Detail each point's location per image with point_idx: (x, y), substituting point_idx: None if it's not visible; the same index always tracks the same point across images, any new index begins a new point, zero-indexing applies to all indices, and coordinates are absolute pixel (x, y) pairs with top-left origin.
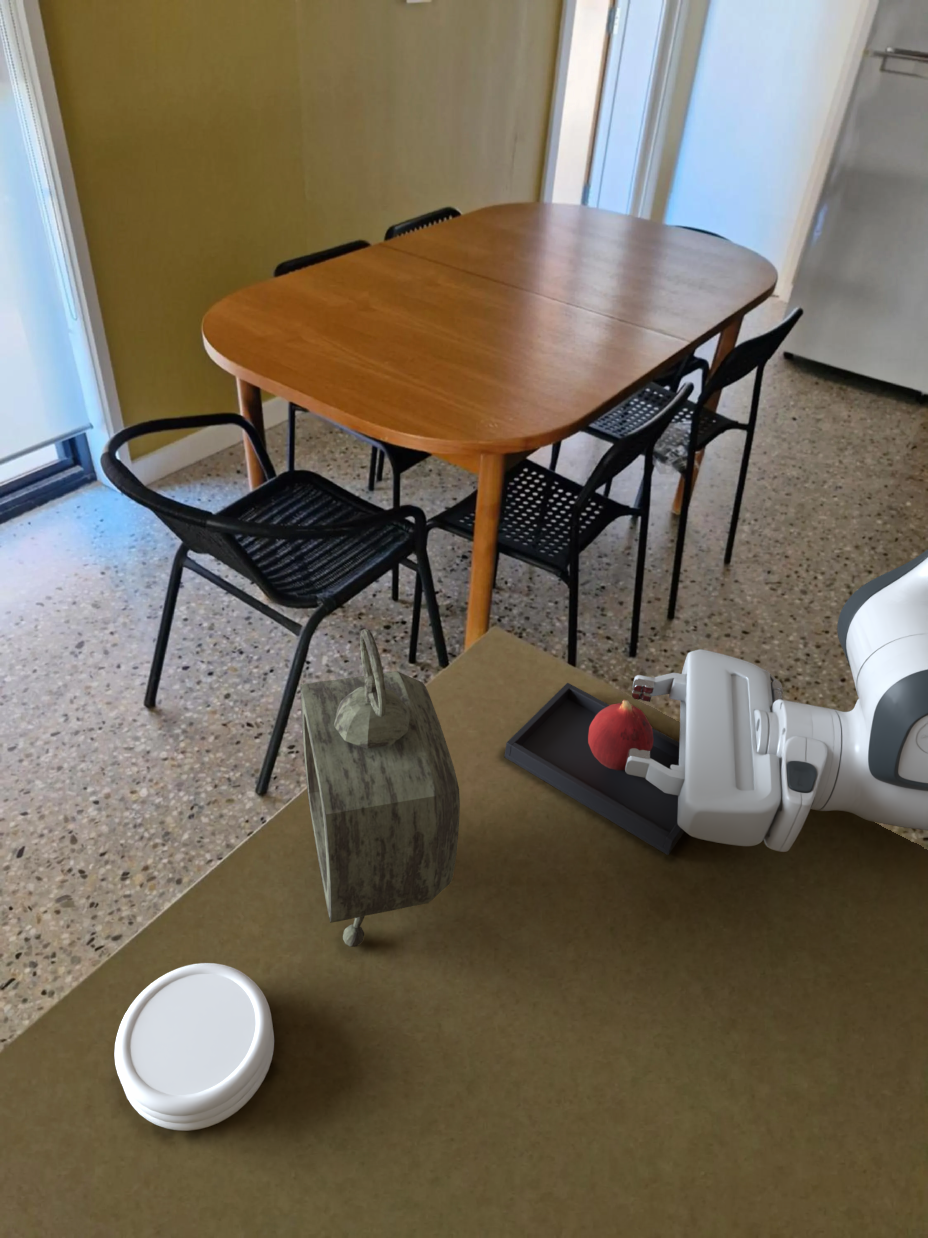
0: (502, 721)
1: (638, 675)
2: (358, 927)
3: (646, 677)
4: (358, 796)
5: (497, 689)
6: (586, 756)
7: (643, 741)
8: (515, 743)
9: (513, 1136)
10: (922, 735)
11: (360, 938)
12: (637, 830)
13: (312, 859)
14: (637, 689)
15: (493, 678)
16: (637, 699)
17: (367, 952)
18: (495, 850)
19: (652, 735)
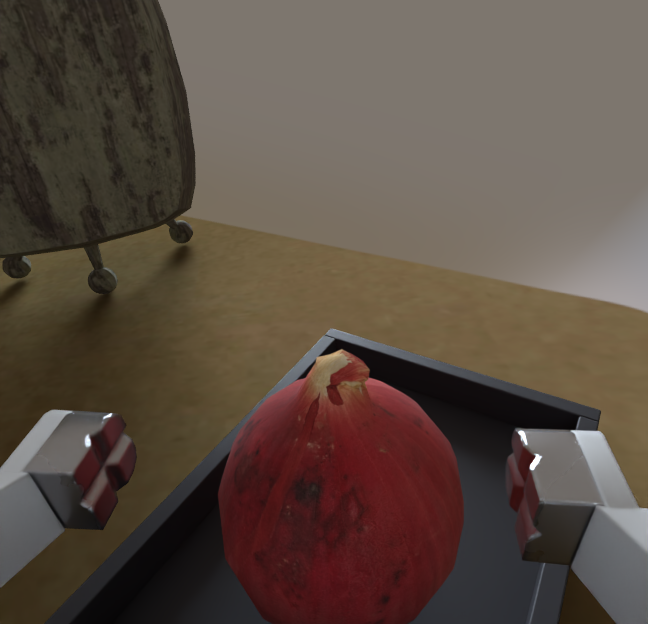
0: (432, 351)
1: (599, 432)
2: (12, 257)
3: (608, 465)
4: None
5: (522, 336)
6: None
7: (246, 526)
8: (332, 339)
9: None
10: None
11: (4, 266)
12: None
13: (147, 241)
14: (514, 450)
15: (550, 328)
16: (509, 502)
17: (4, 288)
18: (114, 373)
19: (306, 581)
